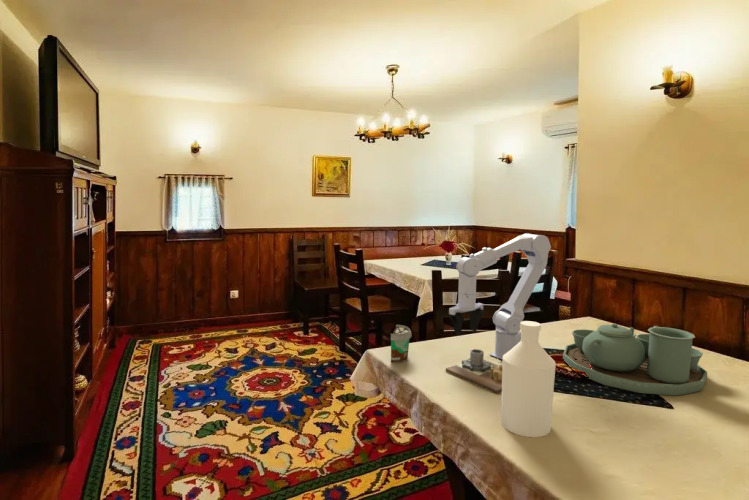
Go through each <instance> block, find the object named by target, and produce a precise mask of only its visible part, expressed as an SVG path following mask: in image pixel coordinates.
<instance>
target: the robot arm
mask: <svg viewBox="0 0 749 500" xmlns="http://www.w3.org/2000/svg"><path fill="white" fill-rule="evenodd" d="M551 248H552V246H551V243H550V240H549V237H547V236H546V235H544V234H535V233H534V234H532V233H529V232H526V233H523V234H520V235H517V236H516V237H514V238H513V239H511V240H509V241H506V242H505V243H503V244H501V245H499V246H497V247H495V248H491V247H482V248H481V251H478V252H476V253H471V254H469V257H467V256H463V257H461V258H459V260H458V262H457V264H456V265H455V267H456V270H457V272H458V291H457V293H458V295H457V296H458V299H457V303H456V305H455V306H452V307H449V308H448V317H449V319H450V320H451V321H450V322H452V327H453V330H454V331H453V332H454V334H455V335H458V336H461V335H462V332H463V331H462V330H463V323H464V321H465V317H466V316H465V315H462V313H467V312H468V315H469V317H468V318H469V328H470V329H469V330H470V331H472V332H477V330H478V327H479V324H480V321H481V319H482V317H483V316H484V313H485V312H484V303H481V302H477V303H476V300H477V299H476V298H477V295H476V293H477V275H478V274H479V273H480V271H481V270H484V269H486V268H488V267H490V266H493V265H494V264H497V262H498V259H499V258H501V257H504V256H508V255H510V254H512V253H514V252H518V251H522V252H523V253H524V255H525V256H526V259H527V261H528V264H527V265H526V267H525V269H524V270H523V273H522V275H521V277H520V279H519V280H518V282H517V284H516V286H515V288H514V290H513V291H512V293H511V295H510V296H509V299H508V301H507V302H505V303H503V304H502V305H500V307H499V309H498V310H496V311H495V312H494V314H493V316H492V322H493V324H494V325H495V342H494V343H495V345H494V352H491V353H489V356H491V357H494V358H497V359H498V360H502V361H503V355H504V354H506V353H507V352H508V351H510V350H511V349H512V348H513V347H514V346H516V345H517V344H518V343H519V342H520V341H521V329H520V322H522V321H524V318H525V314H524V311H523V310H524V308H525V306H526V304H527V302H528V300H529V298H530V297H531V295H532V293H533V291H534V289H535V288H536V286H537V284H538V282H539V280H540V278H541V276H542V274H544V273H543V272H544V270H545V269H546V267H547V266H548V265H547V264H548V258H549V257H548V256H549V252H550V251H551Z"/></svg>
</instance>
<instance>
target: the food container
mask: <svg viewBox="0 0 749 500" xmlns="http://www.w3.org/2000/svg"><path fill="white" fill-rule="evenodd" d="M411 338H412V331H411V329H410V328H409V327H408V326H406V325H402V324H396V325H395V328H394V330H393V333H390V362H391V363H401V362H405V361H407V360H408V358H409V349H410V348H409V347H410V339H411Z"/></svg>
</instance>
